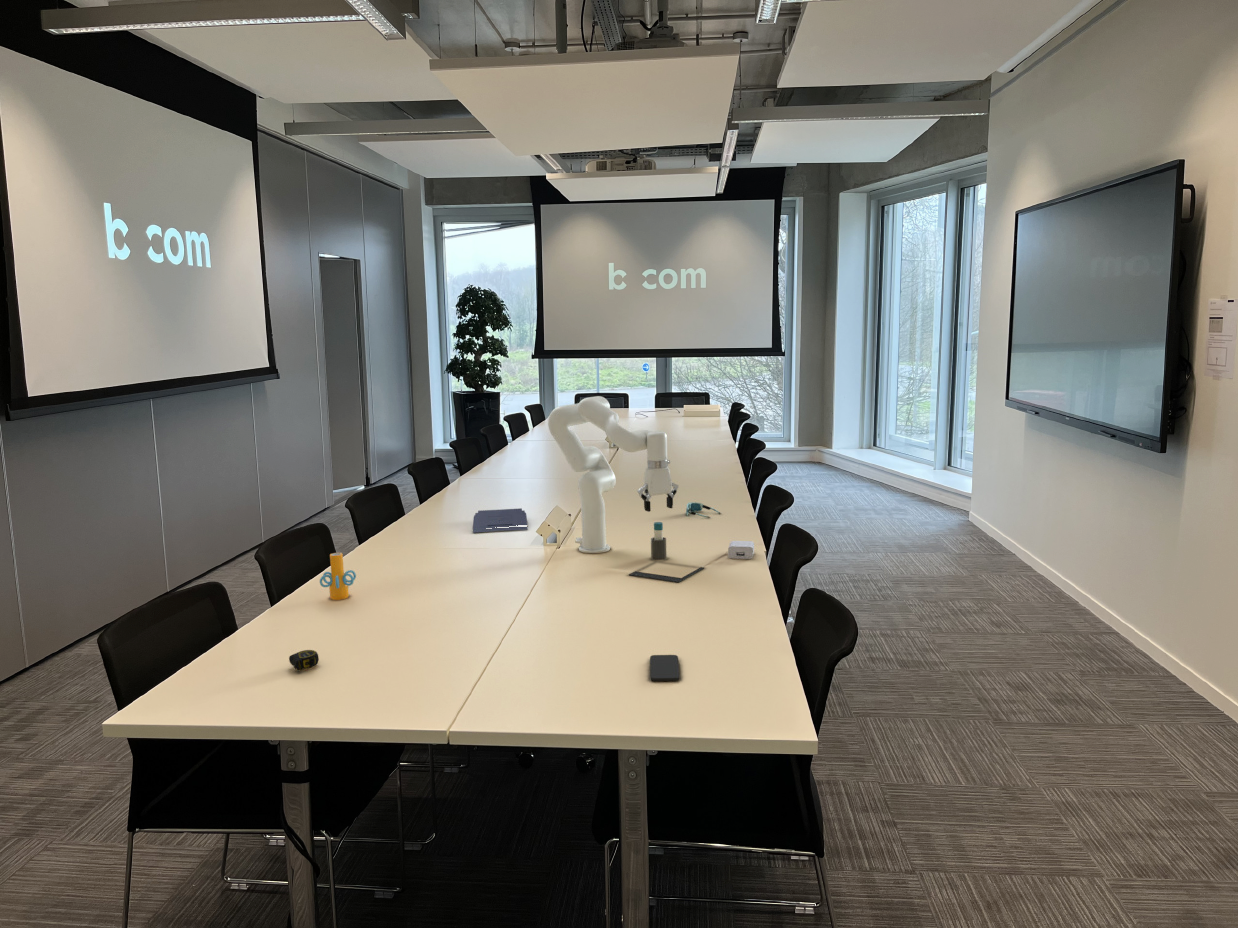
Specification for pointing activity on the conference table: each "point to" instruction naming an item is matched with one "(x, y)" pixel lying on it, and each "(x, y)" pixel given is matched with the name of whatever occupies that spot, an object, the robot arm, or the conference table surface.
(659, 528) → the marker
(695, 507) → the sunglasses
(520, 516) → the dark grey flat slab
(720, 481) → the conference table surface
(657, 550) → the pen cup
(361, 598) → the conference table surface
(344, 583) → the cylinder
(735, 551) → the charger
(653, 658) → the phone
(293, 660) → the tape measure
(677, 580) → the mat
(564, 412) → the robot arm
